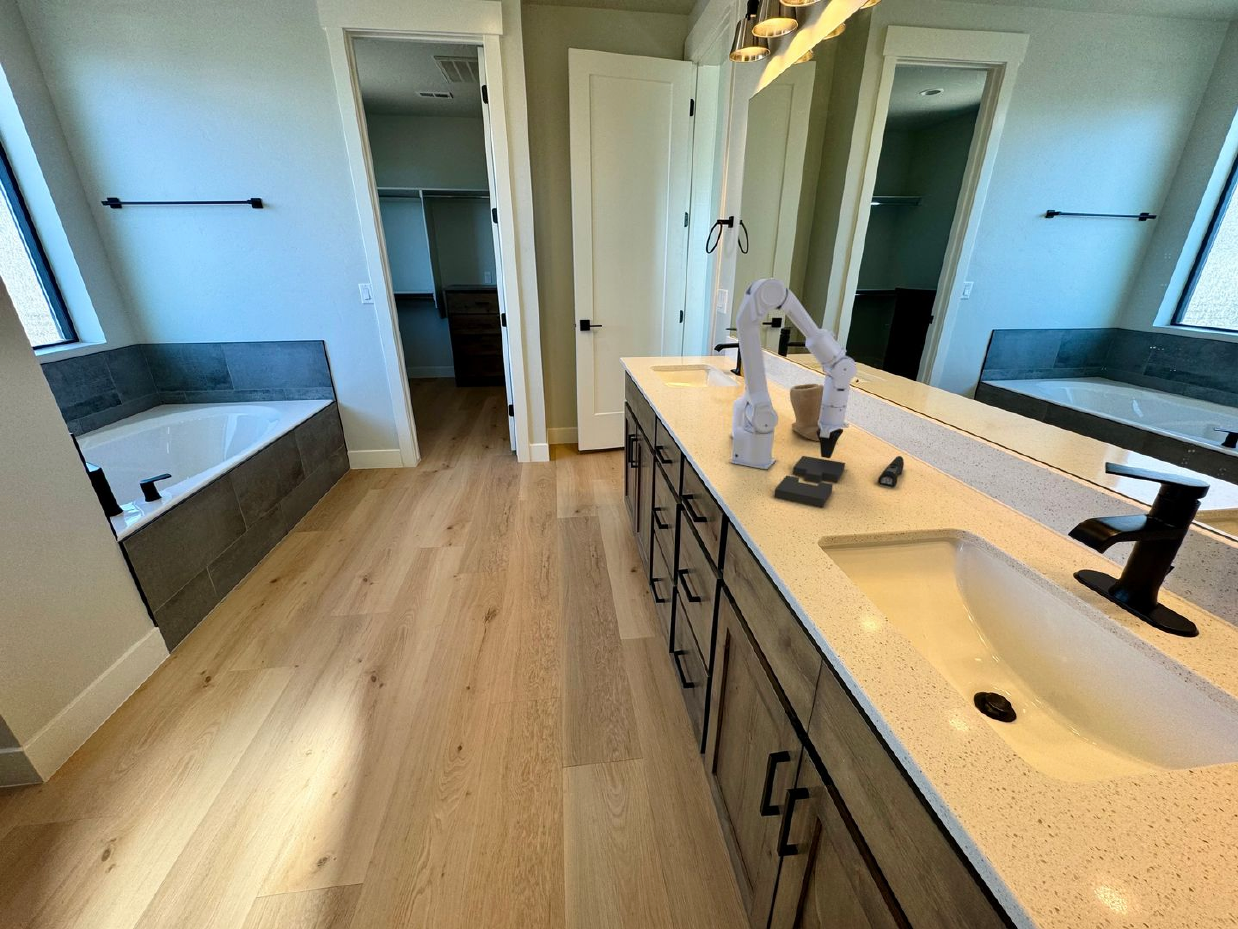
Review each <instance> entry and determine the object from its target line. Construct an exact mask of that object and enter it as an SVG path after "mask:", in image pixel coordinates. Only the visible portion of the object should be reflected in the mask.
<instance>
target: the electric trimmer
mask: <svg viewBox="0 0 1238 929" xmlns="http://www.w3.org/2000/svg"><path fill="white" fill-rule="evenodd" d="M904 466H905V462H904V458H903V456H901V455H898V456H896V457H895V458H894V459H893V460H892V461H891V462H890V463H889V464H888V466H887V467H886V468H885V469H884V470H883V471H882V472H881V474H880V475H879V477H878V479H877V484H878V485H879V486H880V487H883V488H887V489H891V488H895V487H896V486H897V484H898V477H899V476H902V474H903V471H904Z"/></svg>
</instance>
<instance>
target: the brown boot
mask: <svg viewBox="0 0 1238 929" xmlns="http://www.w3.org/2000/svg"><path fill="white" fill-rule="evenodd" d="M823 389H824V384H817V383H805V384H797V385H794V386H792V387H791V388H790V390H789V401H790V404H791V407H792V411H793V412H794V417H795V422H792V424H791V429H792V430H793V431H795V432H796V433H798V434H799V435H800V436H802V437H804V438H806V439H808V440H811V441H815V442H820V441H819V438H818V436H817V430H818V429H819V428H820V427H819V425H818V420H819V417H820V410H821V403H822V396H823Z"/></svg>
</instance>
